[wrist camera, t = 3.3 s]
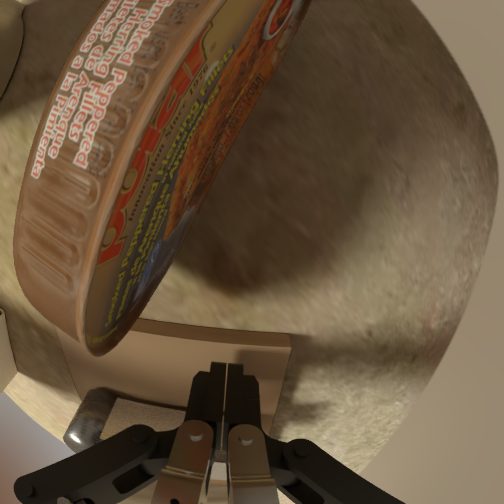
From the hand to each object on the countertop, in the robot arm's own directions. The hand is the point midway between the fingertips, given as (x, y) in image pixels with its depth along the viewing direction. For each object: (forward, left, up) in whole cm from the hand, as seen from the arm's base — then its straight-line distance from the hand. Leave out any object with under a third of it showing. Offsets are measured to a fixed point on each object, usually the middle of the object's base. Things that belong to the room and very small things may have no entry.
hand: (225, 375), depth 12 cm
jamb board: (+9, -4, -2) cm, 10 cm away
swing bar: (+5, -4, -1) cm, 7 cm away
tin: (-11, -2, -2) cm, 11 cm away
